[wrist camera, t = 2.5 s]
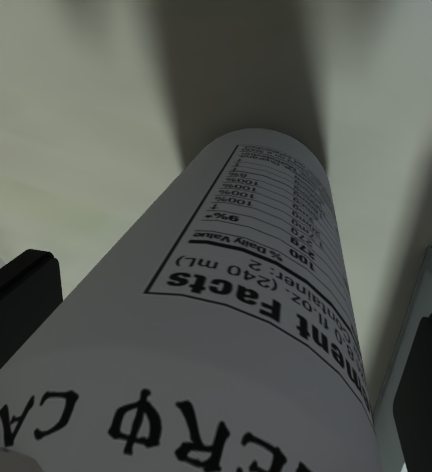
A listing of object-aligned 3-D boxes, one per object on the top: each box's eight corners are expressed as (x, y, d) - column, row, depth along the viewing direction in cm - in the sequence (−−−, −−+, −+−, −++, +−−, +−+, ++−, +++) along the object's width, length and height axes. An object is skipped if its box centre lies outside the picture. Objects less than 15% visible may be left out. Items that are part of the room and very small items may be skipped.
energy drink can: (162, 167, 18) (-251, 543, 4) (288, 93, 16) (199, 409, 2) (232, 276, 19) (80, 783, 6) (354, 223, 17) (528, 843, 4)
